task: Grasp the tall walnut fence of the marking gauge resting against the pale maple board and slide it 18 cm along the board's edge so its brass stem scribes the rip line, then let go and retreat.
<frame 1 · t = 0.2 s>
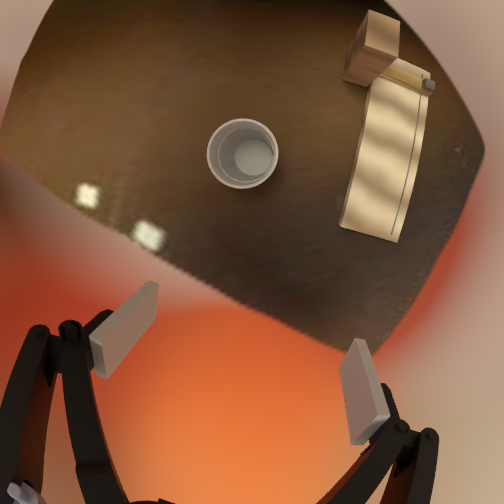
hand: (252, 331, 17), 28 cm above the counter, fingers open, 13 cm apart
cup: (254, 157, 40), on the counter
gauge: (401, 65, 26), point 7 cm above the counter, slide at 0.0 cm
board: (388, 142, 36), on the counter
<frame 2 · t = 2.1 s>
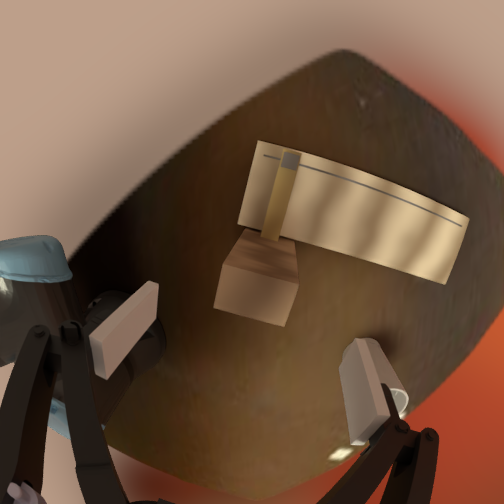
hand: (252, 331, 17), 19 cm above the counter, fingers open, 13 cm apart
cup: (361, 353, 38), on the counter
gauge: (275, 218, 26), point 7 cm above the counter, slide at 0.0 cm
board: (365, 215, 32), on the counter
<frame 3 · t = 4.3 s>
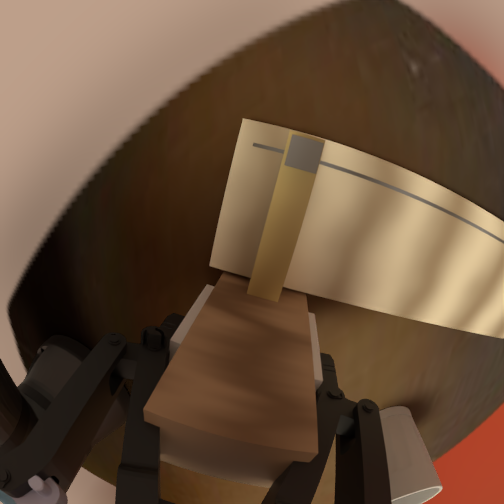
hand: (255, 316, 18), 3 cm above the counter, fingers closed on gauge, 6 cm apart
cup: (385, 421, 25), on the counter
gauge: (272, 274, 13), point 7 cm above the counter, slide at 0.0 cm, touching gripper
board: (419, 249, 18), on the counter
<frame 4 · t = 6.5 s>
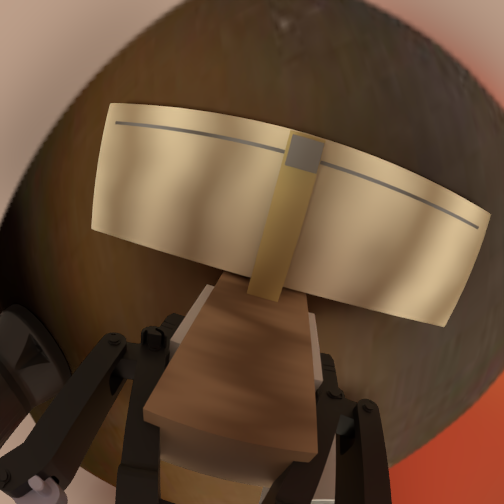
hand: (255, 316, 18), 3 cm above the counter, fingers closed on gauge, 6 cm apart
cup: (307, 413, 25), on the counter
gauge: (272, 274, 13), point 7 cm above the counter, slide at 10.4 cm, touching gripper
board: (295, 208, 19), on the counter
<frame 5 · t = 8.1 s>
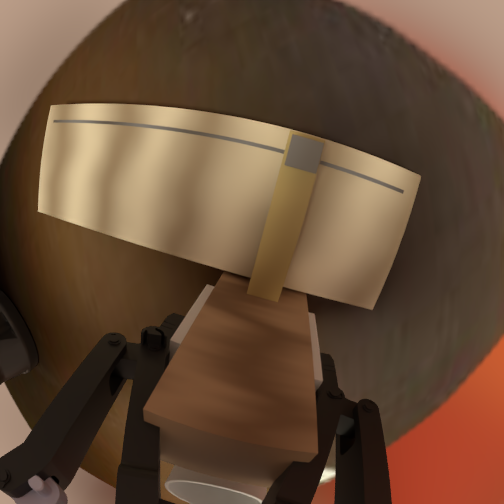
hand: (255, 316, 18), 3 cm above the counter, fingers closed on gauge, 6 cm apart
cup: (239, 399, 25), on the counter
gauge: (272, 274, 13), point 7 cm above the counter, slide at 17.9 cm, touching gripper
board: (192, 182, 19), on the counter
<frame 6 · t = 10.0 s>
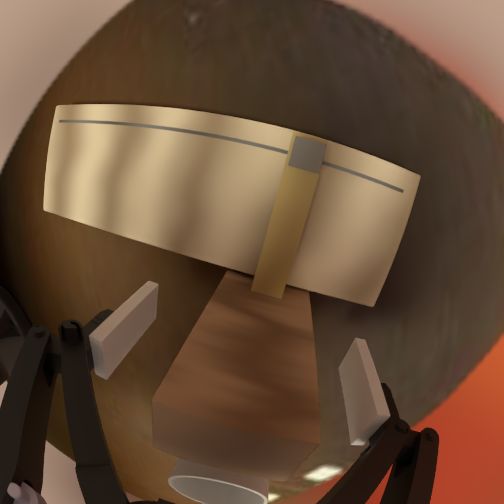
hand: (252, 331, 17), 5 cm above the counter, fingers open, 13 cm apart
cup: (241, 396, 26), on the counter
gauge: (276, 271, 13), point 7 cm above the counter, slide at 18.0 cm
board: (197, 181, 19), on the counter
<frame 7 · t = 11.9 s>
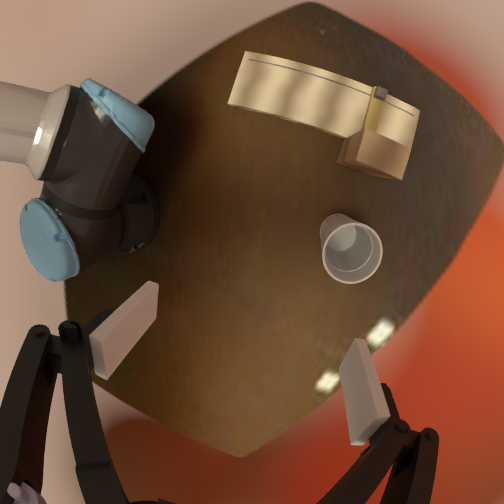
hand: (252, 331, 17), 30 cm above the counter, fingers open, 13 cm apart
cup: (337, 232, 44), on the counter
gauge: (377, 124, 31), point 7 cm above the counter, slide at 18.0 cm
board: (327, 103, 38), on the counter
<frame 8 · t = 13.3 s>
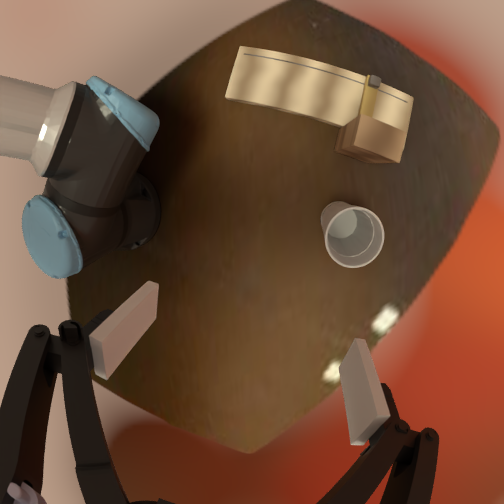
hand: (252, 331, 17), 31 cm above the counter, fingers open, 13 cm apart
cup: (338, 219, 44), on the counter
gauge: (372, 111, 31), point 7 cm above the counter, slide at 18.0 cm
board: (323, 93, 38), on the counter
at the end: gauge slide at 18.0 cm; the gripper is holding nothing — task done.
